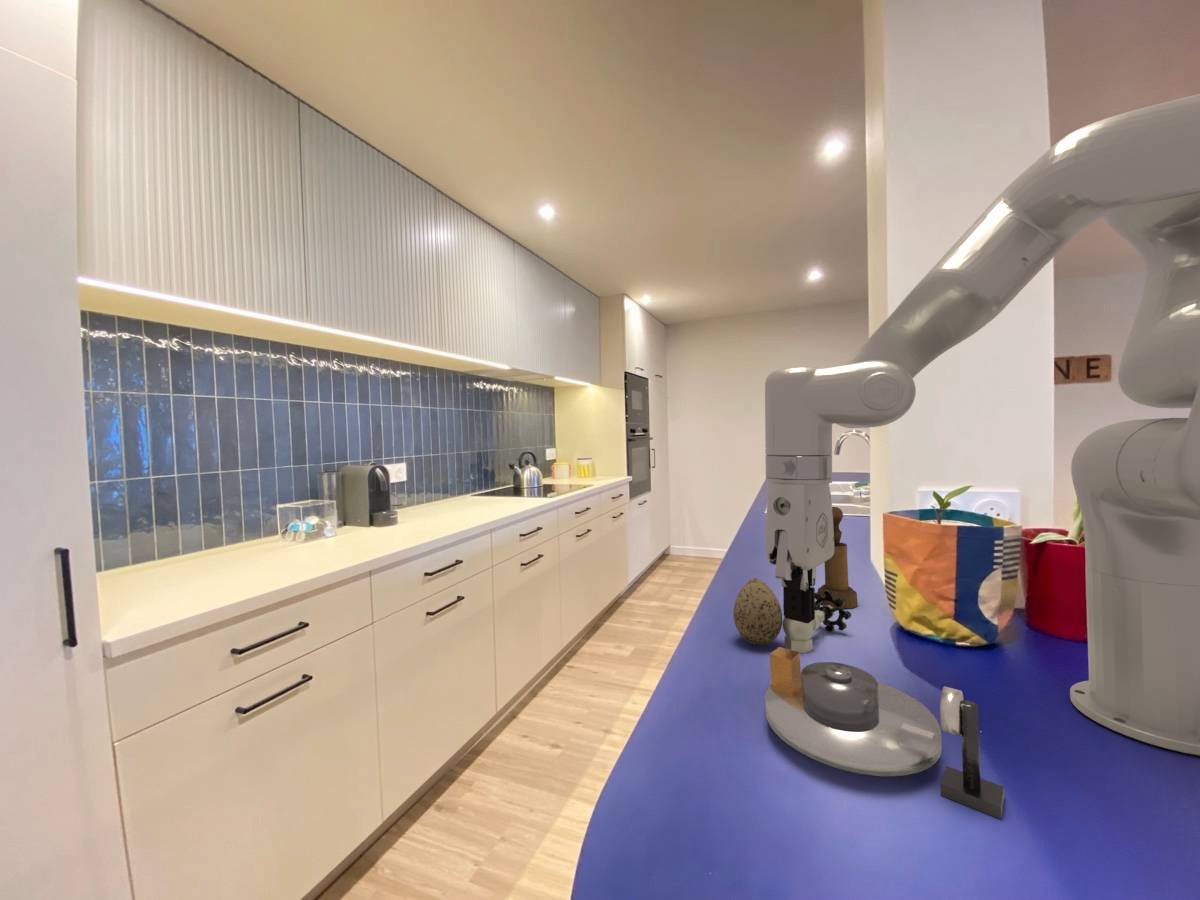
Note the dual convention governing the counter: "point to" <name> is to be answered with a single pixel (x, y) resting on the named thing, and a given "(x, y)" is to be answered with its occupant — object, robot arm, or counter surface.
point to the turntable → (886, 750)
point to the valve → (814, 623)
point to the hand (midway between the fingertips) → (799, 618)
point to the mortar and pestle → (838, 569)
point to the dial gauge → (967, 757)
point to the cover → (840, 696)
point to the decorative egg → (757, 613)
